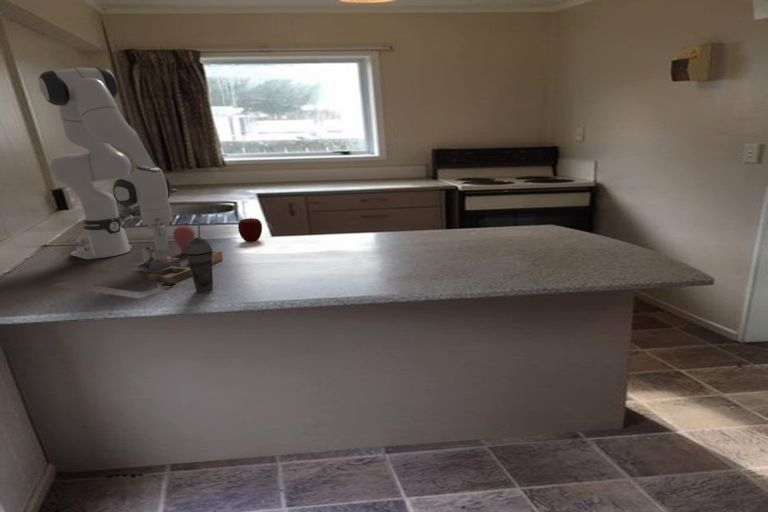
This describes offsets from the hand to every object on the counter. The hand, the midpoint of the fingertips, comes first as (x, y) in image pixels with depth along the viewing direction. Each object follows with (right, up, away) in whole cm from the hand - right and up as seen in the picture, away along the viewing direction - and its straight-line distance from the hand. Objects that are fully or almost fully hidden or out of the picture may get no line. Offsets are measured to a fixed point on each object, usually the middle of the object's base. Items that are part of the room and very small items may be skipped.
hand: (164, 258), depth 151 cm
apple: (+17, +7, +40) cm, 44 cm away
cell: (-6, -3, +4) cm, 8 cm away
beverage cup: (+20, -9, -18) cm, 29 cm away
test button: (0, -2, +1) cm, 2 cm away
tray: (+6, -7, -7) cm, 12 cm away
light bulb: (-1, 0, +20) cm, 20 cm away
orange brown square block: (+11, -3, +7) cm, 13 cm away
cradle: (-3, -4, +3) cm, 6 cm away
